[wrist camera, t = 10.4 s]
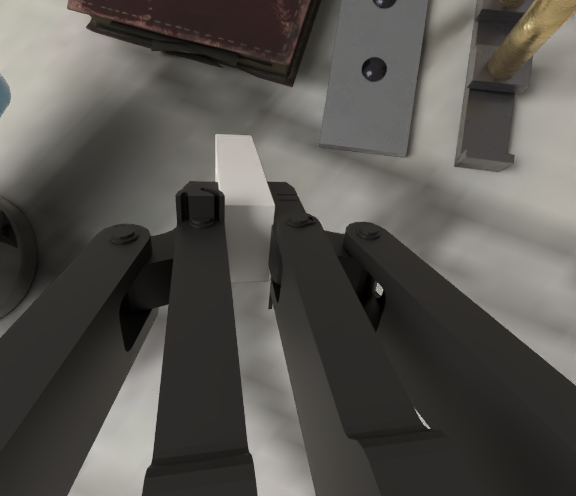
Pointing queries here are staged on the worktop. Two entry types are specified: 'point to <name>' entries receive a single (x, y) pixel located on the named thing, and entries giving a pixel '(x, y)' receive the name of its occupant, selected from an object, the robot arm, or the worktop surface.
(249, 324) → the worktop surface
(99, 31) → the diary
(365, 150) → the flange plate
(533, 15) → the sliding leg
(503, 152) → the dividers rail
